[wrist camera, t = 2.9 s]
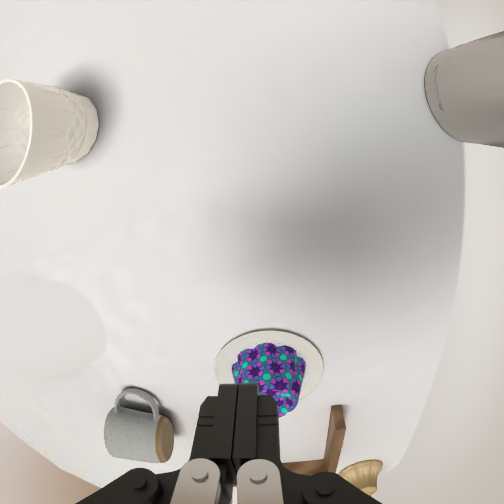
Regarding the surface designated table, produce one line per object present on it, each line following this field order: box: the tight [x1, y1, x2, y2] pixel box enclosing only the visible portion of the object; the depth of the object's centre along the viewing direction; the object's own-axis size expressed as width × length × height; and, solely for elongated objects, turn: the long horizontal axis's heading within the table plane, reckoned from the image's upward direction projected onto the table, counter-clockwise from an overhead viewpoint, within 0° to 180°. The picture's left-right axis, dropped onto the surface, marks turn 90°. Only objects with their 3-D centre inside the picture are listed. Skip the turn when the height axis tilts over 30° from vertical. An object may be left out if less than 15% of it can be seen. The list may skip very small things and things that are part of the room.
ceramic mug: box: [104, 388, 174, 463], centre depth 32 cm, size 11×8×8 cm
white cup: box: [0, 79, 99, 189], centre depth 18 cm, size 8×8×10 cm
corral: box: [233, 405, 346, 487], centre depth 35 cm, size 17×16×4 cm
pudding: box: [214, 331, 324, 417], centre depth 29 cm, size 12×12×5 cm
